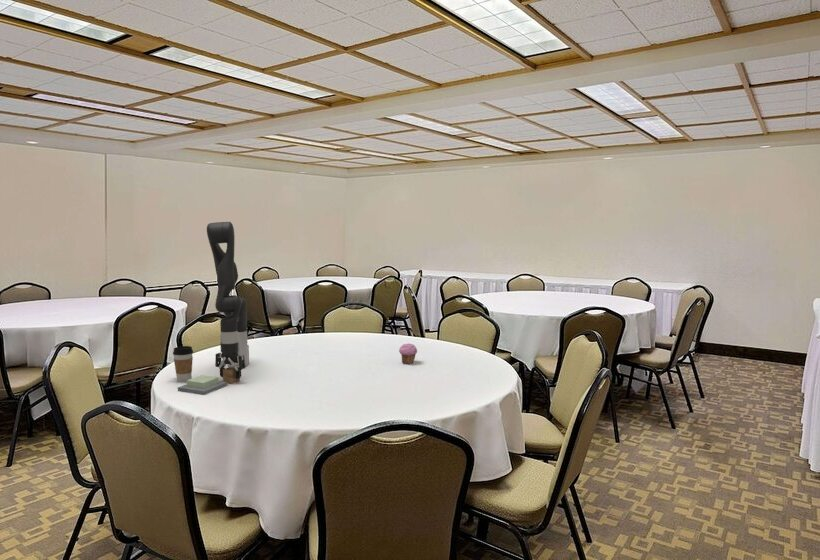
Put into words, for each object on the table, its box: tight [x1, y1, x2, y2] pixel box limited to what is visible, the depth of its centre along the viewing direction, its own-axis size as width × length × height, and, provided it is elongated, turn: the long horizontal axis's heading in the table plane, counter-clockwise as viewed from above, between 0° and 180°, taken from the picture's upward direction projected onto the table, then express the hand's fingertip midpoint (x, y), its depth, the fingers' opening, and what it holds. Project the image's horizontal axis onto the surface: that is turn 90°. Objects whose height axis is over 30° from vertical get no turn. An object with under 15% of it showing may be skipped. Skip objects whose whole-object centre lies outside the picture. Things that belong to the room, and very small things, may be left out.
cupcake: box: [398, 343, 418, 365], centre depth 275 cm, size 9×9×10 cm
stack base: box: [177, 374, 229, 396], centre depth 234 cm, size 14×14×4 cm
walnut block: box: [222, 366, 241, 385], centre depth 243 cm, size 5×5×6 cm
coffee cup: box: [172, 345, 194, 383], centre depth 245 cm, size 8×8×15 cm
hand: (230, 377), depth 243 cm, fingers open, 8 cm apart
